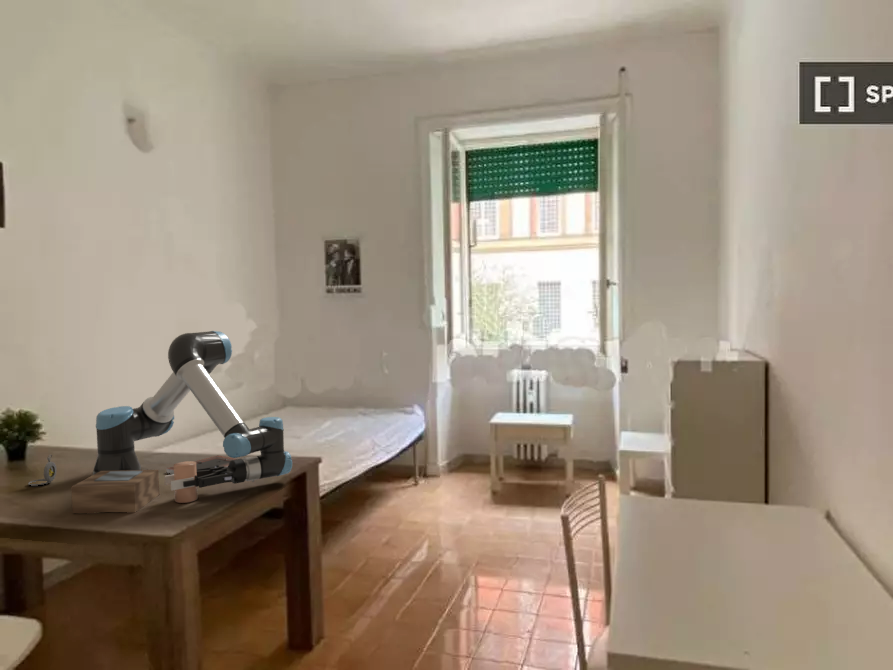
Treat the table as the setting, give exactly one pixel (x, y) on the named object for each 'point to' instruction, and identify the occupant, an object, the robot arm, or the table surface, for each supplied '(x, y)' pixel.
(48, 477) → the pocket watch
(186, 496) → the terracotta cylinder
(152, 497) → the walnut box
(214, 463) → the picture frame
